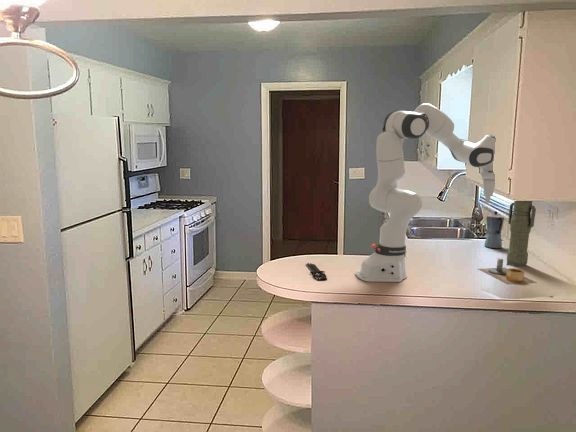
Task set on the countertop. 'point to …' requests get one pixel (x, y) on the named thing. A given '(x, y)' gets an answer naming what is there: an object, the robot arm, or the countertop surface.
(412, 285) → the countertop surface
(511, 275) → the coil ring
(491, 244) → the moka pot
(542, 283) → the countertop surface
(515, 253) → the thermos
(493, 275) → the bobbin board
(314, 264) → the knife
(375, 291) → the countertop surface
